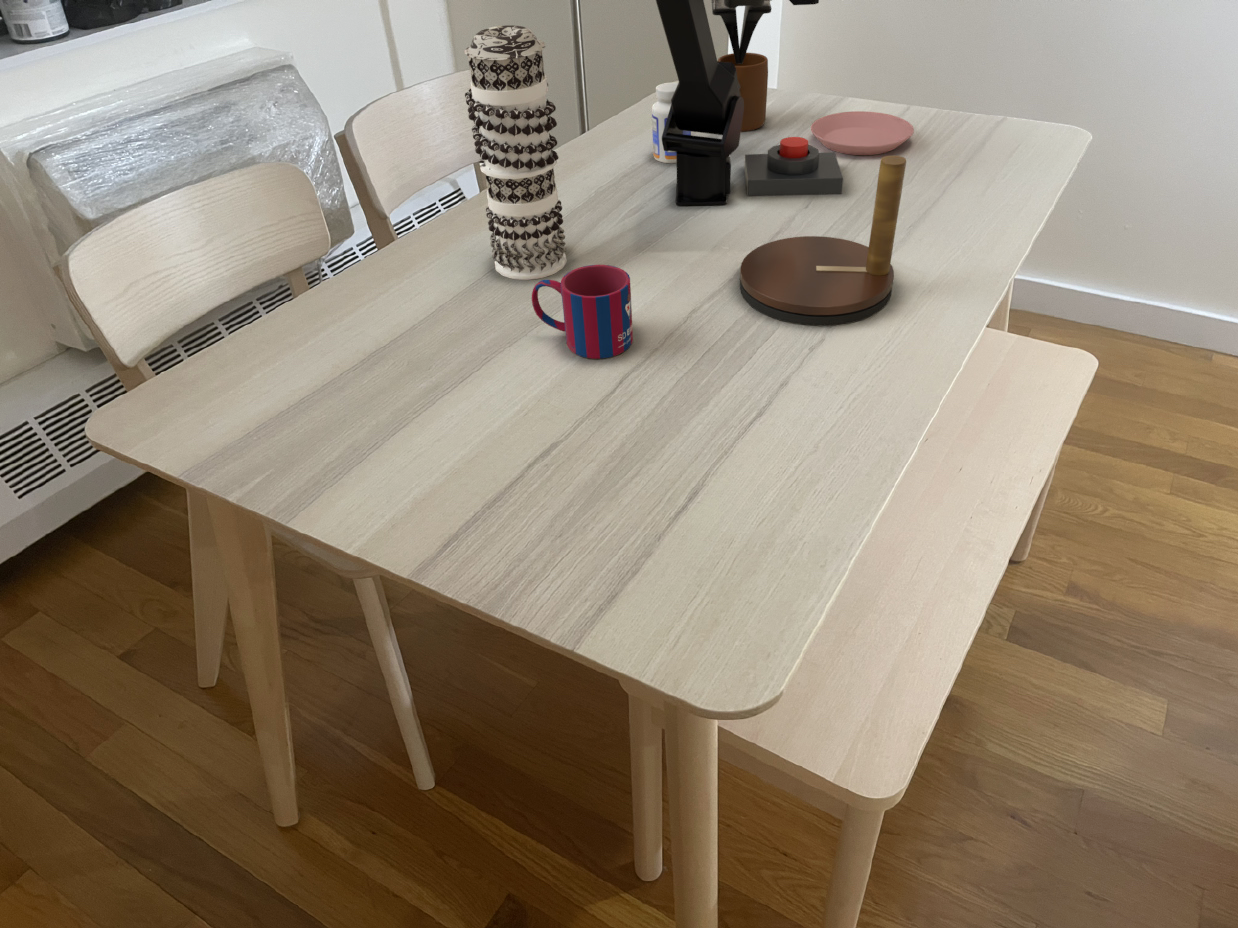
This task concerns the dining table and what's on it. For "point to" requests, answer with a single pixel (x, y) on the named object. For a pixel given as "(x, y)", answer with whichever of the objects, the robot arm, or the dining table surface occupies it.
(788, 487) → the dining table surface
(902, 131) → the plate
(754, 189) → the control block
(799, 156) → the button
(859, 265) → the turntable
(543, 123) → the decorative candle
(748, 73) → the mug
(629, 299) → the cup
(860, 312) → the turntable base
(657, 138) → the pill bottle
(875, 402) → the dining table surface
